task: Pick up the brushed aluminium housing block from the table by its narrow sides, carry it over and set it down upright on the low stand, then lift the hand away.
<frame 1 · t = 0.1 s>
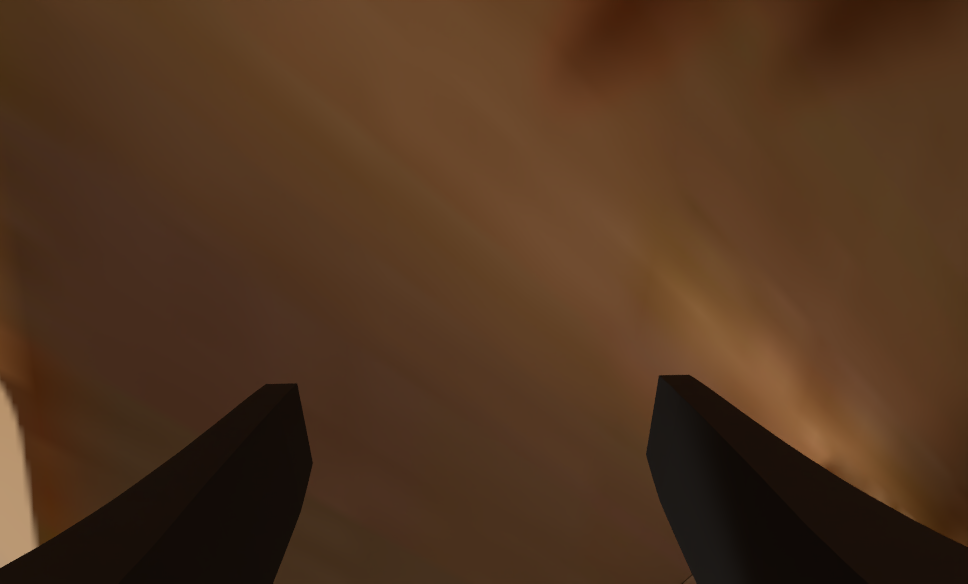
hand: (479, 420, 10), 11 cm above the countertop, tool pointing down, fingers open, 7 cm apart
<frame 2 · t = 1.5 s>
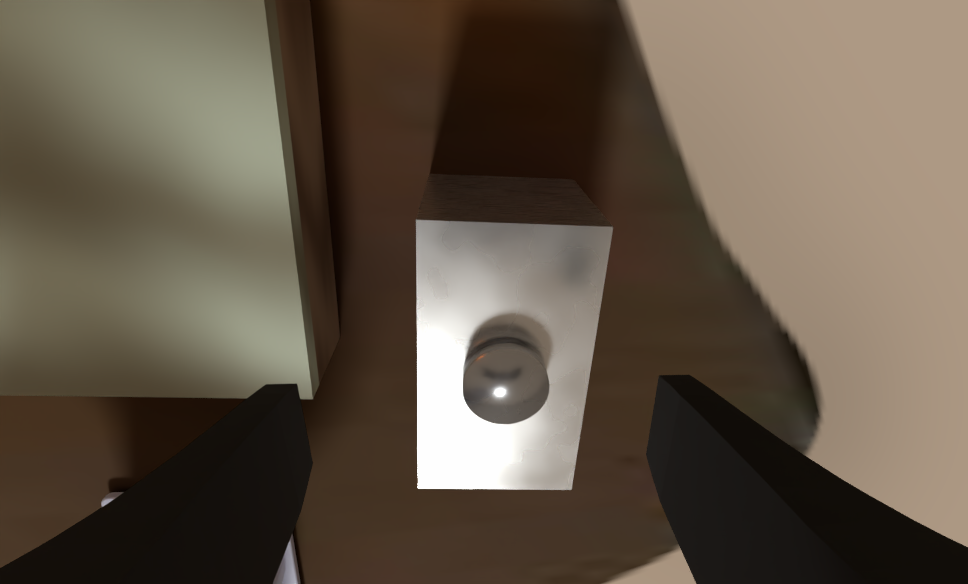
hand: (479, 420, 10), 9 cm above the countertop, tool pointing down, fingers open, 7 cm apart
housing: (494, 292, 20), on the countertop
stand: (177, 181, 18), on the countertop
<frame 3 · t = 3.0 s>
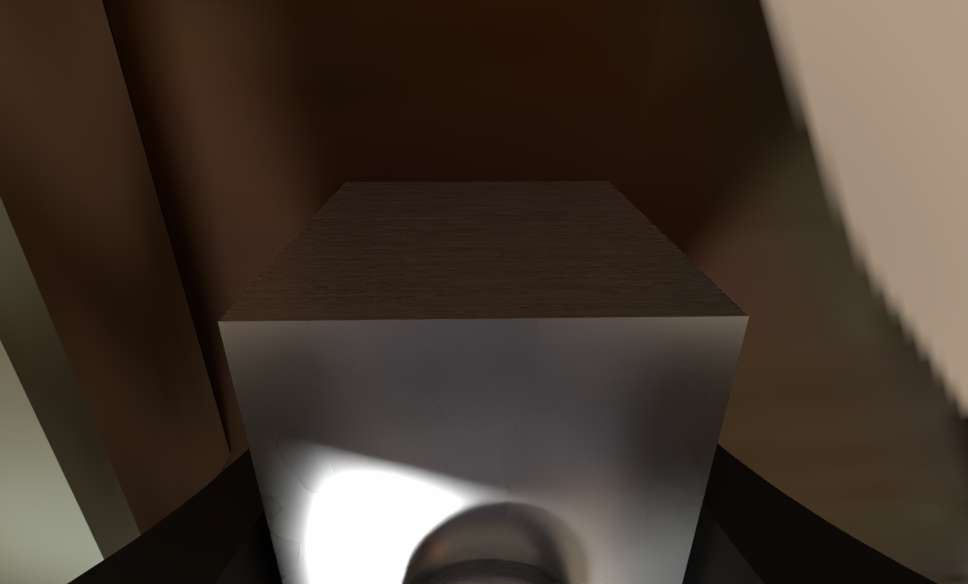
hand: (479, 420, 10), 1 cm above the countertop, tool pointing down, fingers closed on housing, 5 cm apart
housing: (478, 378, 12), on the countertop, touching gripper
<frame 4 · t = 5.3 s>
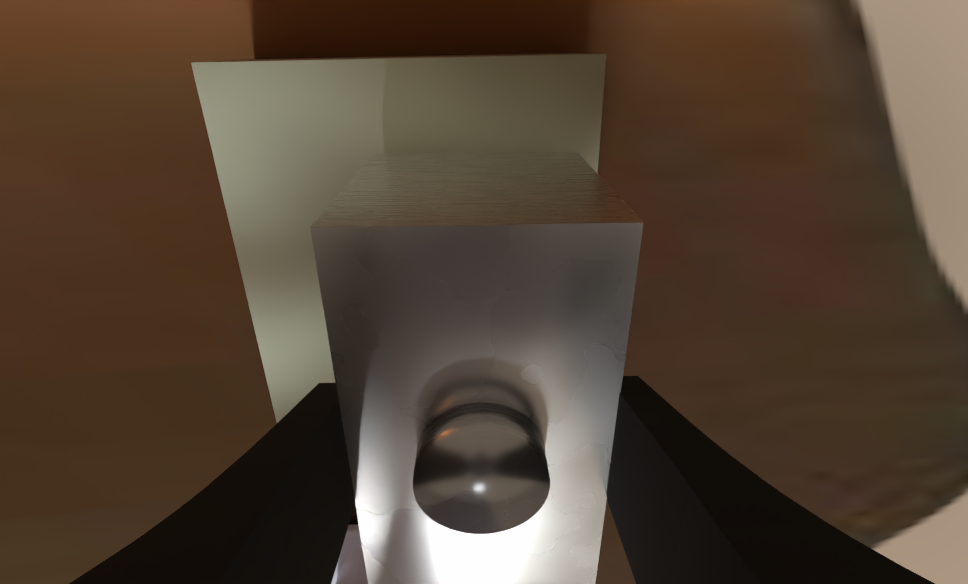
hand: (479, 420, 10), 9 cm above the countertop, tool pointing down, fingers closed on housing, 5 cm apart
housing: (477, 314, 15), point 5 cm above the countertop, touching gripper
stand: (428, 238, 19), on the countertop
when the fingers open (8 cm above the countertop, at t = 6.4 s): housing stays where it is, resting on stand.
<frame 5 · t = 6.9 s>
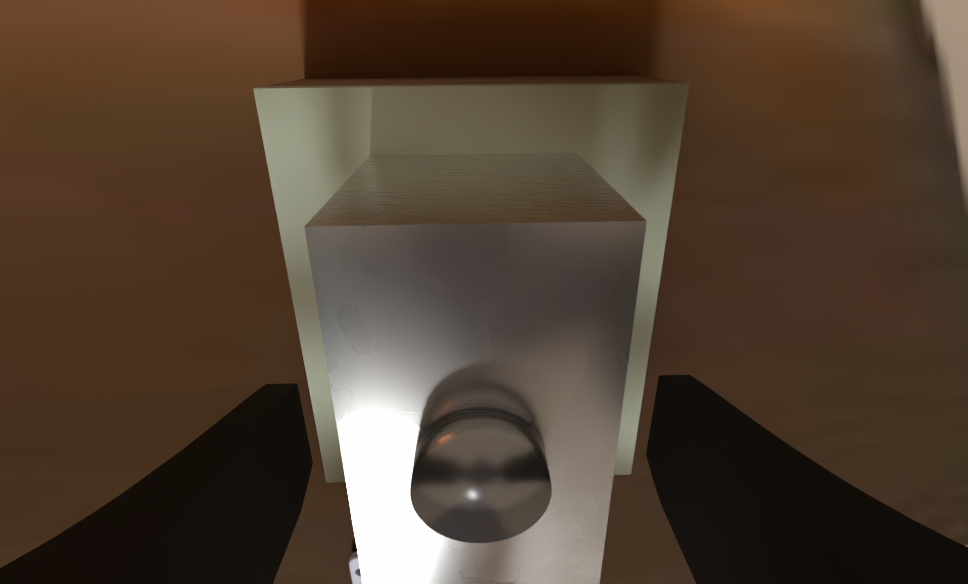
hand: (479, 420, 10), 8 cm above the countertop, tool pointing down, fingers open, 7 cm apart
housing: (476, 317, 14), point 4 cm above the countertop, touching stand
stand: (475, 263, 18), on the countertop
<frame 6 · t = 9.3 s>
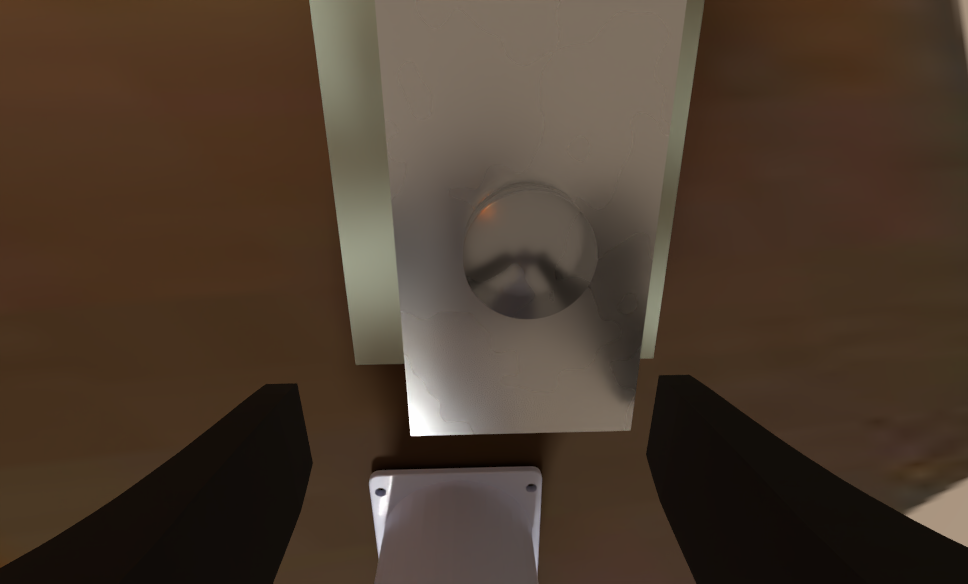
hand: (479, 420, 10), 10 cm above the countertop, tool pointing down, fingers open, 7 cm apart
housing: (506, 183, 15), point 4 cm above the countertop, touching stand
stand: (499, 159, 19), on the countertop
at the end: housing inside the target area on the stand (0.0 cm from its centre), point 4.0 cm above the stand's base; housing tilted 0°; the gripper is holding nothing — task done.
